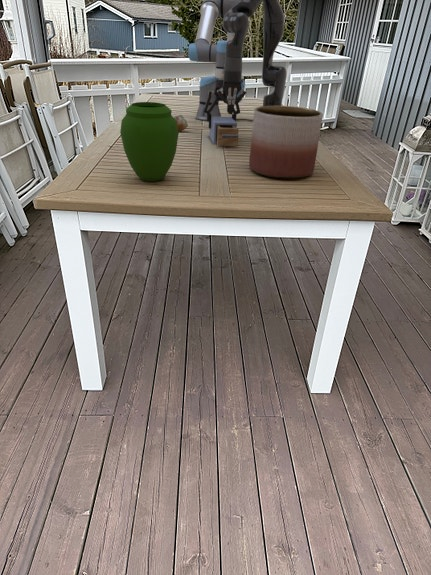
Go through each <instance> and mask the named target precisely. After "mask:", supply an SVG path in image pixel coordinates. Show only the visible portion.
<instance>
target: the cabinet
mask: <svg viewBox="0 0 431 575" xmlns="http://www.w3.org/2000/svg"><path fill="white" fill-rule="evenodd" d="M217 125H233V126H234V127H235V128H238V122H237V121H236V122H235V121H234V120H233V119H232V116H221V117H211V129H209V132H208V137H209V139H210V141H211V142H212V144H213V145H217V141H216V126H217Z"/></svg>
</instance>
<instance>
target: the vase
mask: <svg viewBox="0 0 431 575" xmlns="http://www.w3.org/2000/svg"><path fill="white" fill-rule="evenodd" d="M125 113H126V114H125V115H124V117H122V119H121V122H120V123H121V124H120V130H119V133H120V138H121V142H122V147H123V150H124V154H125V155H126V158H127V160H128V163H129V165H130V167H131V168H132V170H133V172H134V173H135V175H136V176H137V177H138V178H139V179H141V180H143V181H145V182H159V181H161V180H163V179H164V178H165V176H166V175H167V174H168V173H169V170H170V169H171V167H172V165H173V162H174V159H175V157H176V156H175V155H176V153H177V147H178V140H179V131H178V128H177V123H176V120H175V119H174V116H173V115H172V109H171V108H170V107H169V106H167V105H166V104H164V103H162V102H155V101H138V102H132V103H131V104H130V105H128V107H127V108H125Z"/></svg>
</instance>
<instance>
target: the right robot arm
mask: <svg viewBox="0 0 431 575" xmlns="http://www.w3.org/2000/svg"><path fill="white" fill-rule="evenodd" d="M261 4H262V10H263V11H262V34H263V39H262V40H263V49H262V50H263V52H262V53H263V55H262V67H261V68H262V69H261V81H262V84H263V86H264V87H267V88H273V92H271V93H268V94H265V95H264V96H263V100H262V106H283V99H284V95H285V88H286V82H287V75H288V72H287V68H286V67H285V66H284V65H276V64H275V65H274V64H273V61H274V55H275V52H276V50H277V48H278V46H279V44H280V42H281V41H282V39H283V36H284V34H285V14H284V11H283V8H282V6H281V3H280V1H279V0H240V2H238V3H237V4H236V5H234V6H233V7H232V8H231V9H230V10H229V11H228V12H227V13H226V14H225V16H224V17H222V18H223V19H222V28H223V30H224V31H225V32H226V33H227V32H228V33H235V35H234V38H233V39H232V40H229V41H227V40H226V41H227V43H226V51H225V62H224V79H223V85H222V88H221V89H219V90H217V93H218V94H219V96H220V97H221V99H222V100H223V101H222V102H223V103H224V104H226V112H227V114H228V115H232V114H234V109H235V106H236V105H235V104H239V103H240V101H241V99H242V100H243V98H245V96H246V94H247V91H245V89H244V90H243V89H242V86H241V76H243V75H242V74H243V52H244V51H243V50H244V45H245V41H246V38H247V34H248V30H249V27H250V22H249V19H250V18H251V17H252V16H253V15H254V14H255V12H256V11H257V10H258V8H259V7H260V5H261ZM223 90H224V92H225V94H226V95H227V100H226V99H225V98H224V96H223ZM239 92H240V95H239V96H238V98H237V99H236V96H237V95H238V93H239ZM231 96H232V97H231ZM231 98H232V99H231ZM235 99H236V100H235ZM241 102H242V101H241Z"/></svg>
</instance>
